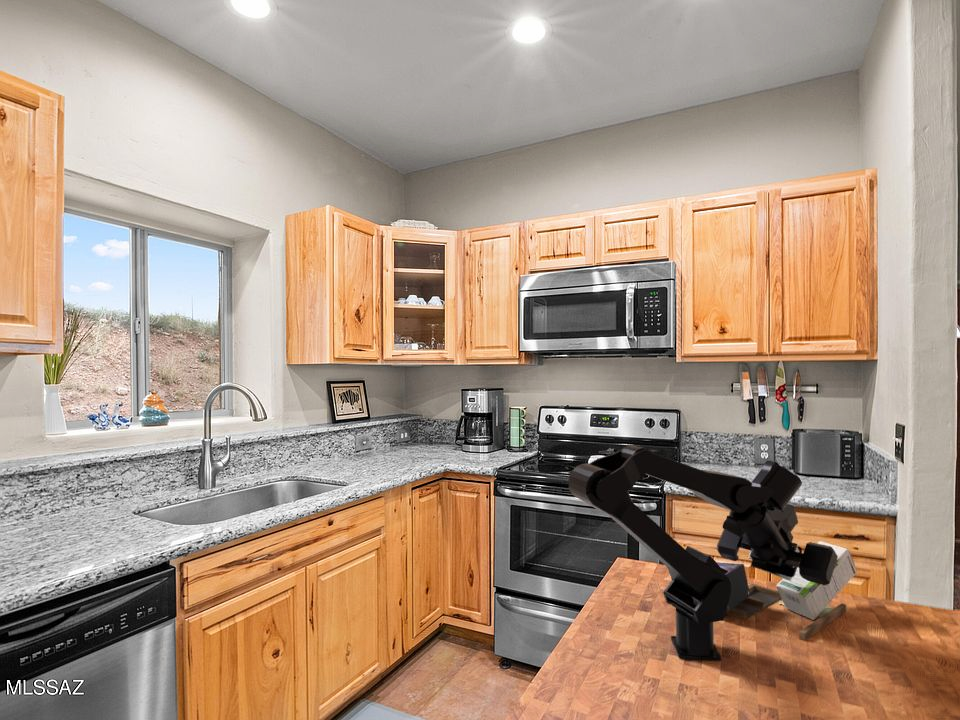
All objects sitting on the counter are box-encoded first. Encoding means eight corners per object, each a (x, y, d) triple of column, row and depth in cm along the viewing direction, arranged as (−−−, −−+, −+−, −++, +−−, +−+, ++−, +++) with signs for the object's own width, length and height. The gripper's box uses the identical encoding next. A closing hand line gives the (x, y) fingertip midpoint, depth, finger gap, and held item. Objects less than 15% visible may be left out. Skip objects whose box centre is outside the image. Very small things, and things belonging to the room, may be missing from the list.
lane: (804, 640, 91) (804, 633, 92) (714, 608, 104) (714, 602, 104) (846, 611, 102) (846, 604, 102) (760, 585, 115) (759, 579, 115)
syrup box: (774, 585, 103) (819, 538, 108) (786, 609, 104) (829, 562, 109) (803, 596, 97) (848, 546, 103) (814, 622, 98) (859, 572, 104)
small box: (693, 558, 114) (745, 562, 106) (699, 591, 113) (751, 597, 105) (669, 570, 106) (723, 575, 99) (675, 605, 105) (729, 613, 98)
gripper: (830, 499, 90) (858, 552, 96) (722, 482, 105) (753, 529, 111) (811, 558, 85) (842, 610, 91) (701, 531, 100) (734, 577, 106)
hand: (789, 577), depth 100 cm, fingers closed
